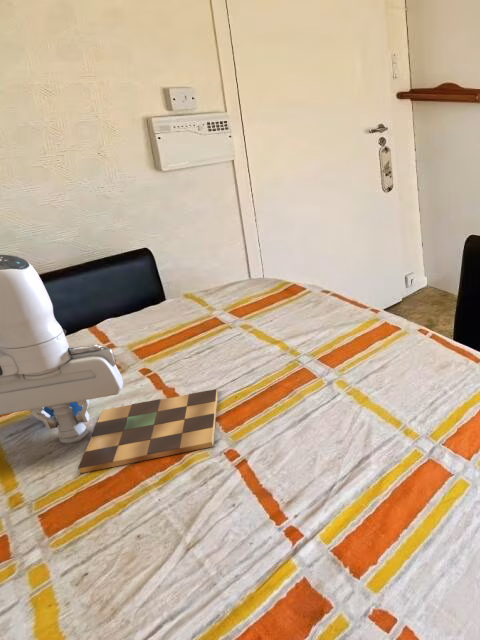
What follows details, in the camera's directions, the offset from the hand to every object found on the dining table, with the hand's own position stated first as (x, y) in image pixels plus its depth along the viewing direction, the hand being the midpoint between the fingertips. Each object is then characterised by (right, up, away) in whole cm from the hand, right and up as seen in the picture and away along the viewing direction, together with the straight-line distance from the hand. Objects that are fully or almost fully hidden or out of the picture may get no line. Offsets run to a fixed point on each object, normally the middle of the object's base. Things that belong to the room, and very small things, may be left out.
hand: (69, 424), depth 109 cm
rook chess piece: (0, -3, +1) cm, 3 cm away
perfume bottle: (-8, +1, +9) cm, 12 cm away
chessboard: (+14, -1, +3) cm, 14 cm away
